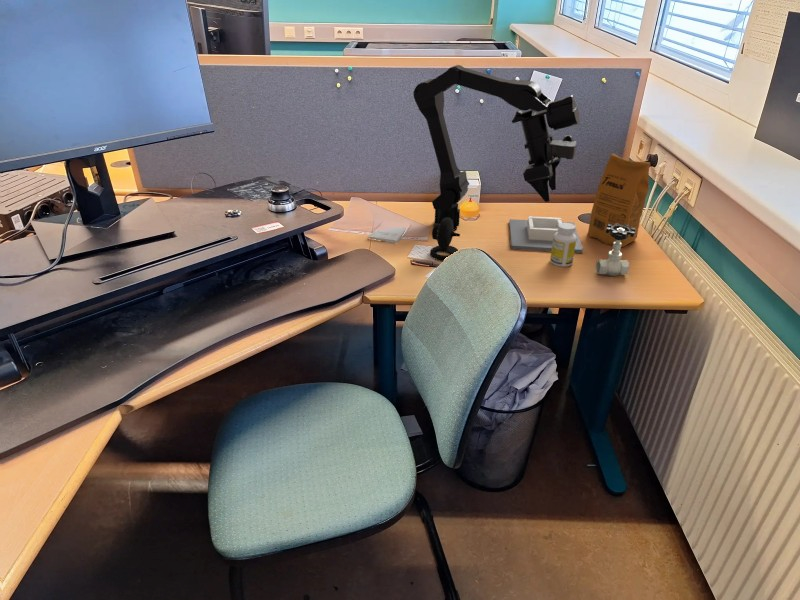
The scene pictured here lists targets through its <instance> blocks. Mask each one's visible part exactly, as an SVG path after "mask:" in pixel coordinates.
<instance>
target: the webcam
mask: <svg viewBox="0 0 800 600" xmlns="http://www.w3.org/2000/svg"><path fill="white" fill-rule="evenodd" d="M434 223H435V222H434ZM460 236H461V233H458V232H455V230H454V226H453V221H452V219H451V218H444V219H443V220H442V221H441V223H440V224H437V223H435V224H434V225H433V226H432V230H431V238H432V240H435V241H437V244H438V245H436V246H434V247H432V248H430V250H429V255H430V256H431V258H432V257H433V258H432V259H434V258H435V259H434V260H436V259H437V260H436V261H439V260H440V262H444V261H443V260H444V259H445V258H446V257H448V256H449V255H451V254H453V253H454V252H456V251H458V250H459V249H458V248H456V247H455V246H454V245H451V242H452V240H453V237H460ZM438 253H445V254H447V255H445V254H443V255H442V254H438Z"/></svg>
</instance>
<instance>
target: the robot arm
mask: <svg viewBox="0 0 800 600" xmlns="http://www.w3.org/2000/svg"><path fill="white" fill-rule="evenodd" d="M454 85H457V86H461V87H464V88H466V89H470V90H474V91H477V92H481V93H483V94H487V95H490V96H494V97H497V98H500V99H502V100H503V101H504V102H505V103H507V104H508V105H510V106H512V107H514V108H516V109H518V110H517V111H516V112H515V115H514V117H513V118H512V120H511V123H512V124H516V123H519V122H520V125H521V127H522V131H523V136H524V140H525V143H524V145H523V146H524V149H527V152H528V157H529V160H528V166H527V167H526V168H525V170H524V172H523V174H522V175H523V179H524V182H526V183H528V184H529V185H530V186H531V187H532V188H533V190H534V191H535V192H536V193H537V194H538V195H539V196H540V197H541V198H542V200H543V201H544V202H545V203H547V202H550V200H551V197H550V196H551V195H550V190H551V191H556V190H557V169H558V166H559V165H560V162H561V161H562V159H566V160H573V159H574V157H575V156H576V150H577V146H578V145H577V143H578V142H577V140H574V138H573V135H568V134H566V135H565V136H564V137H563V139H562V140H561V139H559V140H557V139H556V140H555V139H554V136H553V135H552V134H550V133H549V129H548V128H550V129H551V130H552V129H553V131H559V130H563V129H566V128H571V127H573V126H577V125H580V112H579V108H578V106H577V103H576V101H575V99H574V96H573V94H572V95H567V96H565V97H563V98H559V99H557V100H554V101H553V100H552V99H551V98H550V97H548V96H547V95H546V94H545V93H544V92H542V89H541V87H540V85H539V83H538V82H535V81H532V80H523V79H505V78H501V77H497V76H495V75H490V74H488V73H484V72H480V71H478V70H475V69H474V70H473V69H470V68H467V67H464V66H462V65H460V64H456V65H453V66H451V67H449V68H448V69H447V70H446V71H444V72H443V73H442V74H441V73H440V75H438V76H436V77H435V78H429V79H427V80H424V81H422V82H420V83H418V84H417V85H416V86H415V88H414V90H413V93H412V94H413V99H414V102H415V104H416V106H417V108H418V110H419V112H420V113H421V115H422V116H423V117H424V118H425V120H426V124H427V127H428V129H429V130H428V131H429V134H430V139H431V141H432V145H433V149H434V152H435V153H434V154H435V157H436V160H437V164H438V167H439V173H440V175H439V193H440V194H438V196H437V197H436V198H435V199H433V200H432V202H431V203H432V207H433V209H434V224H435V223H437V224H440V223H441V221H442V220H443V219H444V218H451V219H452V221H453V226H454V231H457V229H458V227H459V226H460V220H461V219H460V218H461V217H460V216H461V213H460V212H461V209H460V208H459V202H460V201H461V200H462V199H463V198H464V197H465V196H466V195H467V192H468V191H469V186H470V183H469V180H468V178H467V177H468V175H467V171H466V170H463V171H461V170H460V169H459V168H458V165H457V162H456V159H455V155H454V154H455V153H454V151H453V148H452V147H453V146H452V143H451V139H450V135H449V132H448V127H447V123H446V120H445V114H444V109H445V97H444V96H445V93H444V92H446V91H448V90H449V89H451V88H452V87H453V86H454ZM523 111H524V112H523Z"/></svg>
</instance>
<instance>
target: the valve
mask: <svg viewBox="0 0 800 600" xmlns="http://www.w3.org/2000/svg"><path fill="white" fill-rule="evenodd" d="M616 228H617V230H614V229H616ZM624 230H627V232H624ZM635 230H636V229H635V228H629V225H627V224H625V225H624V226H622V225H620V224H619V223H615V224H614V226H613V225H611V224H608V225H607V228H606V231H605V232H606V233H609V231H610V235H611V237H614V239H615V240H616V242H614V243H613V245H612V250H609V251H608V254H607V257H608V259H598V260H597V261H596V264H595V273H596V274H597V275H607V276H609V277H616V276H618V275H628V273H629V271H630V263H629V260H628V259H622V256H623V253H622V252H621V249H622V247H621V245H622V243H621V242H620V241H621V240H624V239H627V238H628V235H629V234H630V237H634V235H635Z"/></svg>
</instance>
